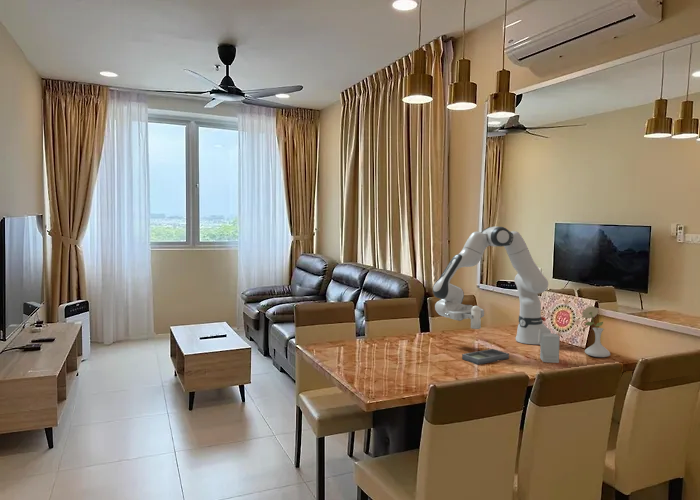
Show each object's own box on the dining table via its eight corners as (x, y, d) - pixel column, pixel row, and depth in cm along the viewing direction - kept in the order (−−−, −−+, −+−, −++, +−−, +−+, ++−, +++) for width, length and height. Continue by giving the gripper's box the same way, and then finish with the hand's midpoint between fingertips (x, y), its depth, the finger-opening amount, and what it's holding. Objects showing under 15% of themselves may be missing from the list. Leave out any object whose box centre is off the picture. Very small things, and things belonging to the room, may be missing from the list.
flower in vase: (608, 354, 242) (609, 305, 240) (612, 360, 231) (613, 308, 230) (579, 351, 246) (580, 303, 245) (582, 357, 235) (583, 307, 234)
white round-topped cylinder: (475, 326, 245) (476, 304, 245) (482, 328, 241) (483, 306, 241) (468, 327, 243) (469, 305, 242) (475, 329, 239) (475, 306, 238)
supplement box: (559, 363, 226) (560, 336, 225) (542, 362, 227) (543, 336, 227) (555, 358, 233) (556, 333, 232) (539, 357, 235) (540, 332, 234)
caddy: (492, 353, 242) (492, 348, 242) (508, 358, 233) (508, 353, 233) (462, 359, 232) (462, 354, 232) (478, 364, 223) (478, 359, 223)
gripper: (443, 307, 248) (461, 312, 236) (472, 304, 258) (491, 308, 246) (443, 319, 248) (461, 324, 236) (472, 316, 258) (491, 320, 246)
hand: (477, 316), depth 241 cm, fingers closed on white round-topped cylinder, 5 cm apart
